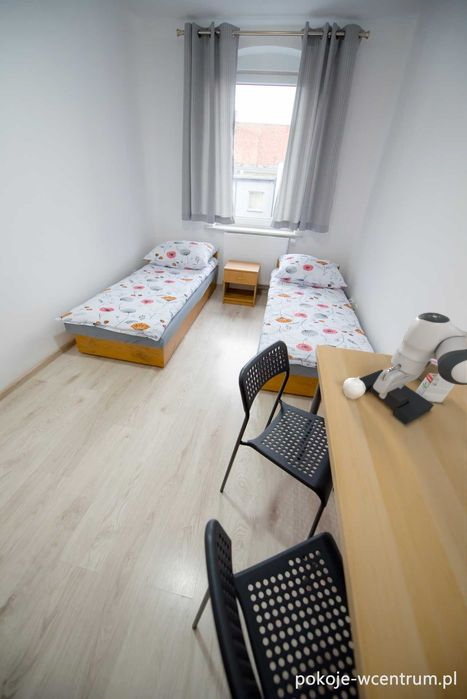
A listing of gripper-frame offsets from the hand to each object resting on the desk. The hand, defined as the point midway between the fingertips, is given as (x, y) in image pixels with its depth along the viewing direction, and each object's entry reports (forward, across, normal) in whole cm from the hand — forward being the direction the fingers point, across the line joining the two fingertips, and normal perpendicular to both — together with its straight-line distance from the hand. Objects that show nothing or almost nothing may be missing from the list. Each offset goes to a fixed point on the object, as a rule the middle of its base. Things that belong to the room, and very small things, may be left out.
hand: (388, 393), depth 93 cm
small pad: (+2, 0, 0) cm, 2 cm away
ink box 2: (+3, +16, -6) cm, 18 cm away
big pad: (+3, +3, 0) cm, 5 cm away
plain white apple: (+3, -10, +7) cm, 12 cm away
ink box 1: (+3, +25, +3) cm, 26 cm away
